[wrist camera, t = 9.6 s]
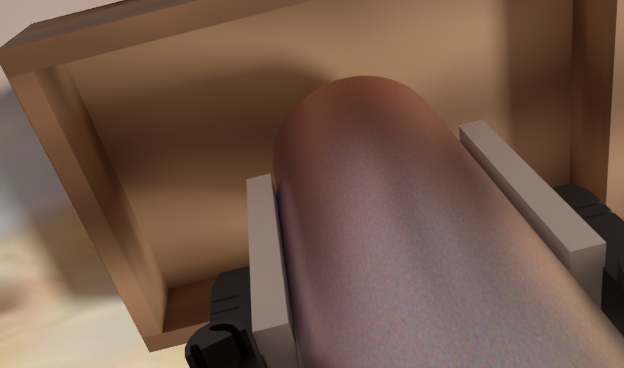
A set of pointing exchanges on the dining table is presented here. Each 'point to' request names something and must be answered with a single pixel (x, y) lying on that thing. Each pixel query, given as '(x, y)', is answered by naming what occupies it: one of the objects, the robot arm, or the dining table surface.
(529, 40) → the crate
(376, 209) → the beverage can
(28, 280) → the dining table surface
